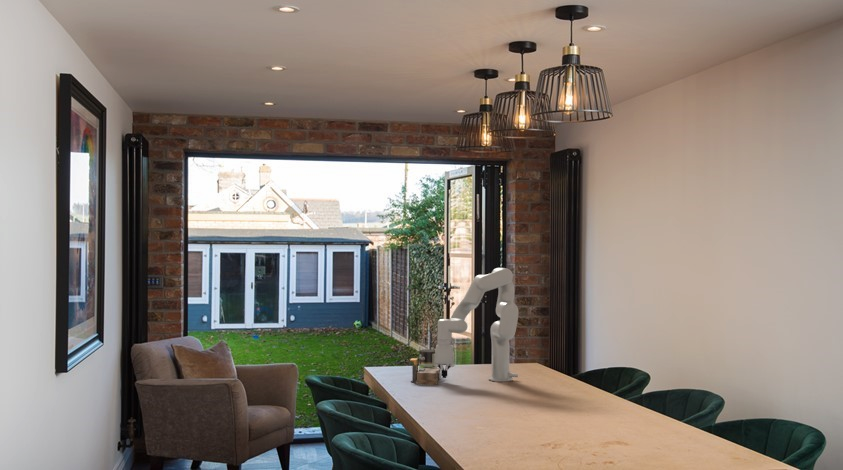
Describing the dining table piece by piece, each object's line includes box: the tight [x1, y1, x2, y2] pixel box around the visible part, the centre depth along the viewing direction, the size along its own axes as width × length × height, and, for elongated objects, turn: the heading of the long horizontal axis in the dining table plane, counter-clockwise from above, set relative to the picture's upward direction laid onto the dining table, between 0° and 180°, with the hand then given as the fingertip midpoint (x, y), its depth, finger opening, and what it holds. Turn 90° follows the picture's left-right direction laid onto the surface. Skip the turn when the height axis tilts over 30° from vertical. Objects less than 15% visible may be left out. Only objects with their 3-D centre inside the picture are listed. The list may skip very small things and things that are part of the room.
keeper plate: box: [409, 357, 419, 370], centre depth 419 cm, size 3×5×6 cm, turn 172°
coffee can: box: [418, 348, 438, 370], centre depth 437 cm, size 10×10×14 cm
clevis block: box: [410, 362, 441, 386], centre depth 418 cm, size 14×18×9 cm
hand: (444, 377), depth 416 cm, fingers closed
